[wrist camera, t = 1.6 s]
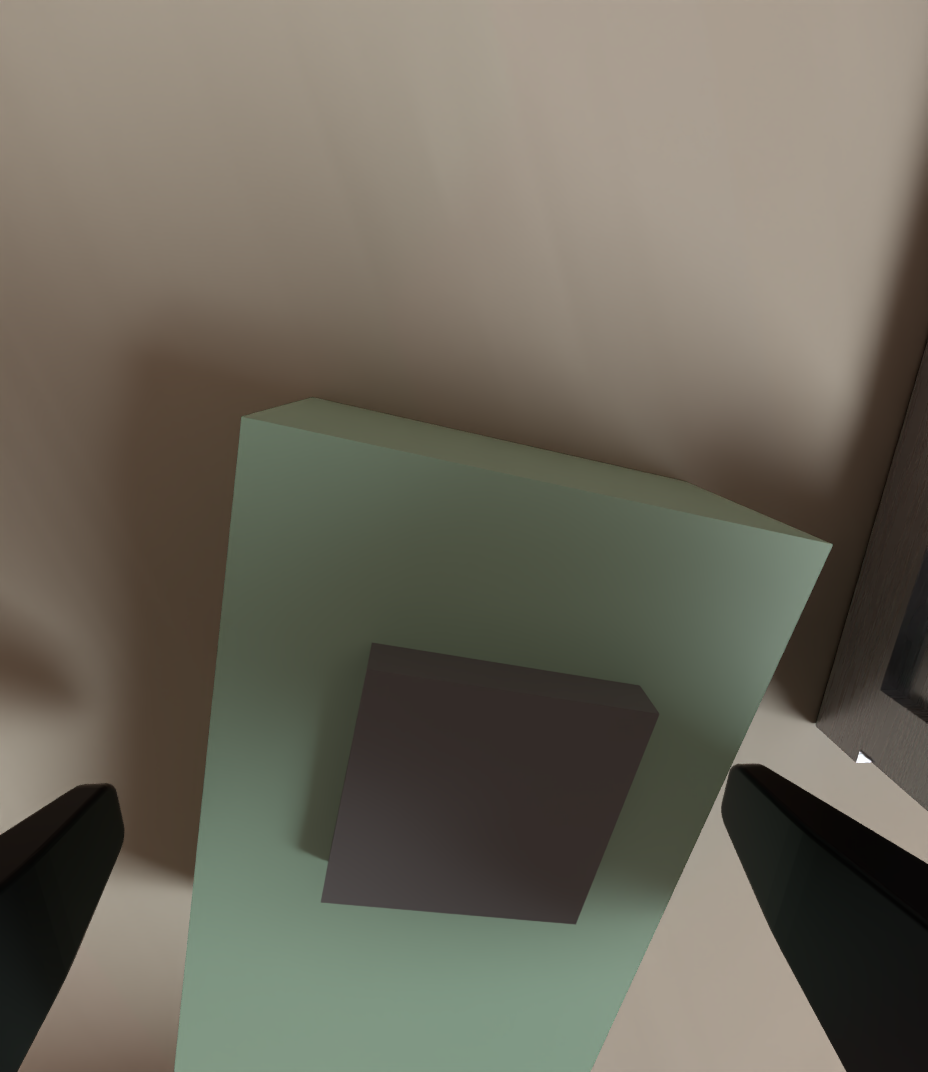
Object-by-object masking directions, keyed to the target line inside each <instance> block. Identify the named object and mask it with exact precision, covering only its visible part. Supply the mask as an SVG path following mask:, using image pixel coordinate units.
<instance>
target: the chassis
mask: <svg viewBox="0 0 928 1072" xmlns="http://www.w3.org/2000/svg"><path fill="white" fill-rule="evenodd" d="M816 727H817V728H818V729H820V730H821V731H822V732H823V733H824V734H825V735H826V736H827V737H828V738H829V739H831V740H832V741H833V742H834V743H835V744H836V745H837V746H838V747H839V748H841V749H842V750H843V751H844V752H845V753H846V754H847V755H848V756H849V757H850V758H852V759H853V760H854V761H855V762H856V763H861V762H872V763H873V764H874V765H876V766H877V767H878V768H879V769H880V770H881V771H882V772H884V773H885V774H886V775H887V776H888V777H889V778H890V779H892V780H893V781H894V782H895V783H896V784H897V785H898V786H900V787H901V788H902V789H903V790H904V791H905V792H906V793H908V794H909V795H910V796H911V797H912V798H913V799H914V800H916V801H917V802H918V803H919V804H920V805H921V806H922V807H924V808H925V809H926V810H927V811H928V341H927V344H926V348H925V351H924V355H923V358H922V362H921V365H920V369H919V372H918V375H917V379H916V382H915V386H914V389H913V393H912V396H911V399H910V403H909V406H908V410H907V413H906V417H905V420H904V423H903V427H902V430H901V434H900V437H899V441H898V444H897V448H896V451H895V454H894V458H893V461H892V465H891V468H890V472H889V475H888V478H887V482H886V485H885V489H884V492H883V496H882V499H881V502H880V506H879V509H878V513H877V516H876V520H875V523H874V527H873V530H872V533H871V537H870V540H869V544H868V547H867V551H866V554H865V557H864V561H863V564H862V568H861V571H860V575H859V578H858V581H857V585H856V588H855V592H854V595H853V599H852V602H851V606H850V609H849V612H848V616H847V619H846V623H845V626H844V630H843V633H842V636H841V640H840V643H839V647H838V650H837V654H836V657H835V660H834V664H833V667H832V671H831V674H830V678H829V681H828V685H827V688H826V691H825V695H824V698H823V702H822V705H821V709H820V712H819V715H818V719H817V722H816Z"/></svg>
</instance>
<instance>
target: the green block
mask: <svg viewBox="0 0 928 1072" xmlns="http://www.w3.org/2000/svg"><path fill="white" fill-rule="evenodd" d="M832 546H833V544H831V543H829V542H826V541H824V540H822V539H819V538H817V537H815V536H812V535H810V534H808V533H805V532H803V531H801V530H798V529H796V528H794V527H791V526H789V525H786V524H784V523H782V522H779V521H777V520H775V519H772V518H770V517H768V516H765V515H763V514H761V513H758V512H756V511H754V510H751V509H749V508H747V507H744V506H742V505H740V504H737V503H735V502H733V501H730V500H728V499H726V498H723V497H721V496H719V495H716V494H714V493H712V492H709V491H707V490H704V489H702V488H700V487H697V486H695V485H693V484H690V483H688V482H686V481H682V480H677V479H673V478H668V477H664V476H659V475H655V474H651V473H646V472H642V471H637V470H633V469H628V468H624V467H620V466H615V465H611V464H606V463H602V462H597V461H593V460H589V459H584V458H580V457H575V456H571V455H566V454H562V453H558V452H553V451H549V450H544V449H540V448H536V447H531V446H527V445H522V444H518V443H513V442H509V441H505V440H500V439H496V438H491V437H487V436H482V435H478V434H474V433H469V432H465V431H460V430H456V429H451V428H447V427H443V426H438V425H434V424H429V423H425V422H420V421H416V420H412V419H407V418H403V417H398V416H394V415H389V414H385V413H381V412H376V411H372V410H367V409H363V408H359V407H354V406H350V405H345V404H341V403H336V402H332V401H328V400H323V399H319V398H314V397H311V398H307V399H304V400H300V401H296V402H293V403H289V404H285V405H282V406H278V407H274V408H271V409H267V410H263V411H260V412H256V413H252V414H249V415H245V416H242V417H241V426H240V436H239V446H238V455H237V465H236V475H235V484H234V494H233V504H232V514H231V523H230V533H229V543H228V552H227V562H226V572H225V582H224V591H223V601H222V611H221V620H220V630H219V640H218V650H217V659H216V669H215V679H214V688H213V698H212V708H211V718H210V727H209V737H208V747H207V756H206V766H205V776H204V785H203V795H202V805H201V815H200V824H199V834H198V844H197V853H196V863H195V873H194V883H193V892H192V902H191V912H190V921H189V931H188V941H187V951H186V960H185V970H184V980H183V989H182V999H181V1009H180V1019H179V1028H178V1038H177V1048H176V1057H175V1067H174V1072H590V1071H591V1069H592V1067H593V1065H594V1063H595V1061H596V1058H597V1056H598V1054H599V1052H600V1050H601V1048H602V1045H603V1043H604V1041H605V1039H606V1037H607V1035H608V1032H609V1030H610V1028H611V1026H612V1024H613V1021H614V1019H615V1017H616V1015H617V1013H618V1011H619V1008H620V1006H621V1004H622V1002H623V1000H624V998H625V995H626V993H627V991H628V989H629V987H630V985H631V982H632V980H633V978H634V976H635V974H636V972H637V969H638V967H639V965H640V963H641V961H642V959H643V956H644V954H645V952H646V950H647V948H648V945H649V943H650V941H651V939H652V937H653V935H654V932H655V930H656V928H657V926H658V924H659V922H660V919H661V917H662V915H663V913H664V911H665V909H666V906H667V904H668V902H669V900H670V898H671V896H672V893H673V891H674V889H675V887H676V885H677V882H678V880H679V878H680V876H681V874H682V872H683V869H684V867H685V865H686V863H687V861H688V859H689V856H690V854H691V852H692V850H693V848H694V846H695V843H696V841H697V839H698V837H699V835H700V833H701V830H702V828H703V826H704V824H705V822H706V819H707V817H708V815H709V813H710V811H711V809H712V806H713V804H714V802H715V800H716V798H717V796H718V793H719V791H720V789H721V787H722V785H723V783H724V780H725V778H726V776H727V774H728V772H729V770H730V767H731V765H732V763H733V761H734V759H735V757H736V754H737V752H738V750H739V748H740V746H741V743H742V741H743V739H744V737H745V735H746V733H747V730H748V728H749V726H750V724H751V722H752V720H753V717H754V715H755V713H756V711H757V709H758V707H759V704H760V702H761V700H762V698H763V696H764V694H765V691H766V689H767V687H768V685H769V683H770V680H771V678H772V676H773V674H774V672H775V670H776V667H777V665H778V663H779V661H780V659H781V657H782V654H783V652H784V650H785V648H786V646H787V644H788V641H789V639H790V637H791V635H792V633H793V631H794V628H795V626H796V624H797V622H798V620H799V617H800V615H801V613H802V611H803V609H804V607H805V604H806V602H807V600H808V598H809V596H810V594H811V591H812V589H813V587H814V585H815V583H816V581H817V578H818V576H819V574H820V572H821V570H822V568H823V565H824V563H825V561H826V559H827V557H828V554H829V552H830V550H831V548H832Z"/></svg>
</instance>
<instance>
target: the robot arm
mask: <svg viewBox="0 0 928 1072" xmlns="http://www.w3.org/2000/svg"><path fill="white" fill-rule="evenodd" d="M721 813H722V818H723V822H724V825H725V827H726V829H727V832H728V834H729V836H730V839H731V841H732V843H733V845H734V848H735V850H736V852H737V855H738V857H739V859H740V861H741V864H742V866H743V868H744V871H745V873H746V875H747V878H748V880H749V882H750V884H751V887H752V889H753V891H754V894H755V896H756V898H757V901H758V903H759V905H760V907H761V910H762V912H763V914H764V916H765V919H766V921H767V923H768V925H769V927H770V929H771V931H772V934H773V935H774V937H775V939H776V941H777V943H778V945H779V947H780V949H781V951H782V953H783V955H784V957H785V958H786V960H787V962H788V964H789V966H790V968H791V970H792V971H793V973H794V975H795V977H796V979H797V981H798V983H799V984H800V986H801V988H802V990H803V992H804V994H805V996H806V998H807V999H808V1001H809V1003H810V1005H811V1007H812V1009H813V1011H814V1012H815V1014H816V1016H817V1018H818V1020H819V1022H820V1024H821V1025H822V1027H823V1029H824V1031H825V1033H826V1035H827V1037H828V1038H829V1040H830V1042H831V1044H832V1046H833V1048H834V1050H835V1051H836V1053H837V1055H838V1057H839V1059H840V1061H841V1063H842V1064H843V1066H844V1068H845V1070H846V1072H928V864H927V863H925V862H924V861H922V860H920V859H919V858H917V857H915V856H914V855H912V854H910V853H909V852H907V851H905V850H904V849H902V848H900V847H899V846H897V845H895V844H894V843H892V842H890V841H889V840H887V839H885V838H884V837H882V836H880V835H879V834H877V833H875V832H874V831H872V830H870V829H869V828H867V827H865V826H864V825H862V824H860V823H859V822H857V821H855V820H854V819H852V818H850V817H849V816H847V815H845V814H844V813H842V812H840V811H839V810H837V809H835V808H834V807H832V806H830V805H829V804H827V803H825V802H824V801H822V800H820V799H819V798H817V797H815V796H814V795H812V794H810V793H809V792H807V791H805V790H804V789H802V788H800V787H799V786H797V785H795V784H794V783H792V782H790V781H789V780H787V779H785V778H784V777H782V776H780V775H779V774H777V773H775V772H774V771H772V770H770V769H769V768H767V767H765V766H763V765H761V764H736V765H734V766H733V767H732V768H731V769H730V772H729V775H728V780H727V784H726V788H725V792H724V796H723V801H722V806H721ZM123 840H124V824H123V819H122V814H121V810H120V805H119V800H118V796H117V792H116V789H115V788H114V786H113V785H111V784H107V783H105V784H83V785H79V786H77V787H75V788H73V789H71V790H70V791H68V792H67V793H65V794H64V795H62V796H60V797H59V798H57V799H56V800H54V801H53V802H51V803H49V804H48V805H46V806H45V807H43V808H42V809H40V810H39V811H37V812H35V813H34V814H32V815H31V816H29V817H28V818H26V819H24V820H23V821H21V822H20V823H18V824H17V825H15V826H14V827H12V828H10V829H9V830H7V831H6V832H4V833H3V834H1V835H0V1072H17V1071H18V1069H19V1067H20V1066H21V1064H22V1062H23V1060H24V1058H25V1056H26V1054H27V1052H28V1050H29V1048H30V1046H31V1045H32V1043H33V1041H34V1039H35V1037H36V1035H37V1033H38V1031H39V1029H40V1027H41V1025H42V1024H43V1022H44V1020H45V1018H46V1016H47V1014H48V1012H49V1010H50V1008H51V1006H52V1004H53V1003H54V1001H55V999H56V997H57V995H58V993H59V991H60V989H61V987H62V985H63V983H64V981H65V979H66V977H67V975H68V972H69V970H70V968H71V966H72V964H73V961H74V959H75V957H76V955H77V952H78V950H79V948H80V945H81V943H82V940H83V938H84V936H85V933H86V931H87V929H88V926H89V924H90V921H91V919H92V917H93V914H94V912H95V910H96V907H97V905H98V902H99V900H100V898H101V895H102V893H103V891H104V888H105V886H106V883H107V881H108V879H109V876H110V874H111V872H112V869H113V867H114V864H115V862H116V860H117V857H118V855H119V853H120V850H121V847H122V844H123Z"/></svg>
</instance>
